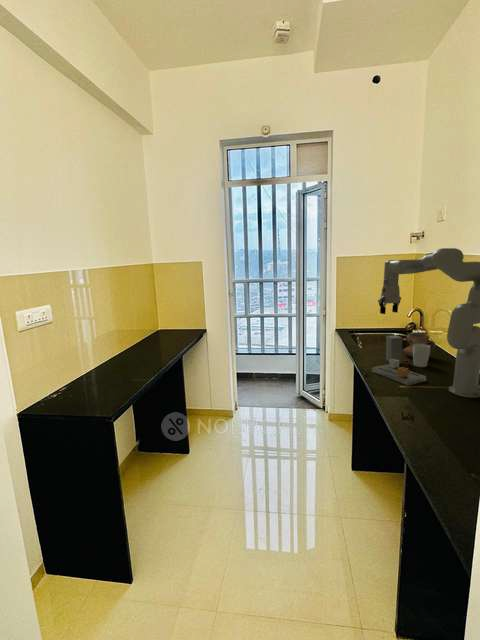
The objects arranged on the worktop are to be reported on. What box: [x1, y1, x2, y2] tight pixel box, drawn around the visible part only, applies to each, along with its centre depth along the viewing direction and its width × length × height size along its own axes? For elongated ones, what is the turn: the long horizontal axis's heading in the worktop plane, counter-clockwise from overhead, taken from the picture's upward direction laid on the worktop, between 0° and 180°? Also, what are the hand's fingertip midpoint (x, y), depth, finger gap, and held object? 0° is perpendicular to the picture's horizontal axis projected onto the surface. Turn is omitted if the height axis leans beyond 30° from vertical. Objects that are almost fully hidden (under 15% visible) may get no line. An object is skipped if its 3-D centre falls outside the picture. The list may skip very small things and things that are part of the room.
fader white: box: [388, 359, 400, 368], centre depth 184 cm, size 3×4×4 cm
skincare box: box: [385, 334, 403, 365], centre depth 201 cm, size 8×7×16 cm
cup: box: [412, 344, 431, 368], centre depth 194 cm, size 9×9×12 cm
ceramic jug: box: [402, 332, 436, 358], centre depth 211 cm, size 18×14×14 cm
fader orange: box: [397, 366, 410, 377], centre depth 170 cm, size 3×4×4 cm
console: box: [371, 363, 427, 386], centre depth 178 cm, size 23×13×3 cm, turn 26°
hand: (388, 312), depth 190 cm, fingers open, 9 cm apart
